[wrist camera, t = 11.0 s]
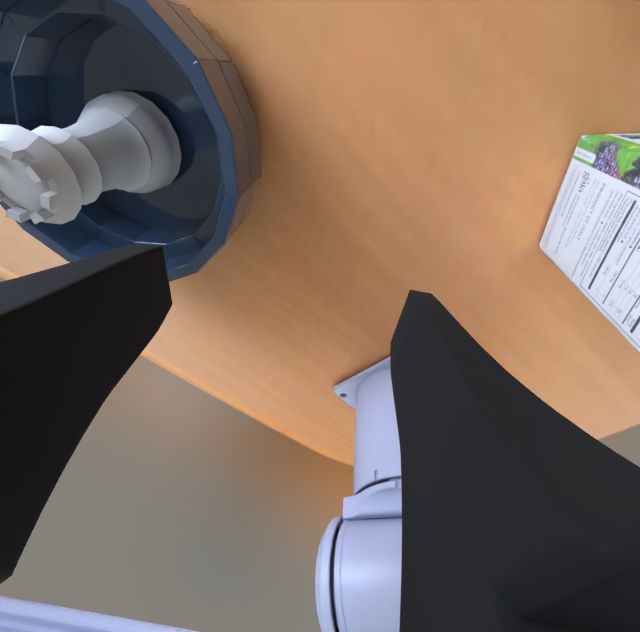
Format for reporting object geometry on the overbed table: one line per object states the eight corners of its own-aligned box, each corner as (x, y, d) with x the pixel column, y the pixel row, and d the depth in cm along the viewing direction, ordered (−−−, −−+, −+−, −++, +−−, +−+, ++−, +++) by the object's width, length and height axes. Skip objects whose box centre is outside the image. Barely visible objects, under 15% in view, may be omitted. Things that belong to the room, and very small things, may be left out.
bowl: (311, 149, 17) (297, 171, 13) (184, 280, 23) (150, 320, 19) (84, -121, 12) (-32, -199, 9) (-3, 131, 18) (-94, 146, 14)
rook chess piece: (111, 66, 15) (-74, 63, 9) (199, 132, 16) (93, 173, 10) (89, 150, 17) (-68, 197, 11) (168, 203, 19) (67, 272, 12)
